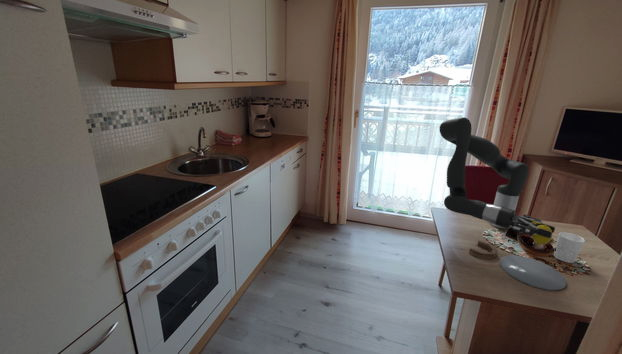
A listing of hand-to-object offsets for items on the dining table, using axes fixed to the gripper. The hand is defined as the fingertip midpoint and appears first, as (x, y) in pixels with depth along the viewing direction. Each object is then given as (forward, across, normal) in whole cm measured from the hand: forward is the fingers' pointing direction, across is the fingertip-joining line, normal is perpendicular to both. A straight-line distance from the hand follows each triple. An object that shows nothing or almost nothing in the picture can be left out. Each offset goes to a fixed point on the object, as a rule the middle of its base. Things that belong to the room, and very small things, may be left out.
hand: (552, 232), depth 99 cm
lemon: (-3, 0, +6) cm, 7 cm away
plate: (-2, 0, +18) cm, 18 cm away
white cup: (+5, +23, +18) cm, 30 cm away
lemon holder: (-18, +1, +18) cm, 26 cm away
